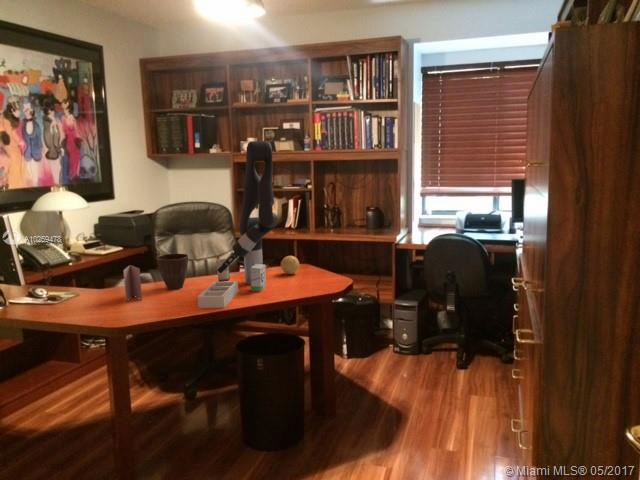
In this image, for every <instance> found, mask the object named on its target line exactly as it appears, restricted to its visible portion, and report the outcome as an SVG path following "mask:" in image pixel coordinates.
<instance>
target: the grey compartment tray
mask: <svg viewBox="0 0 640 480" xmlns="http://www.w3.org/2000/svg"><path fill="white" fill-rule="evenodd" d="M211 290H227V291H211ZM238 293H239V285H238V281H224V282H219V281H213V282H212V283H211V284H210V285H208V287H207V288H205V289H204V290H203V291H202V292H201V293H200V294H199V295H198V296H197V308H199V309H202V308H203V309H209V308H212V309H215V308H217V309H224V308H226V306H227V305H228V304H229V303H230V302H231V301H232V299H233V298H234V297H235V296H236V295H237V294H238Z"/></svg>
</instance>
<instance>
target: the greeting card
mask: <svg viewBox="0 0 640 480" xmlns="http://www.w3.org/2000/svg"><path fill="white" fill-rule="evenodd" d="M140 270H141V269H140V268H139V267H137V266H134V265H131V264H129V265H128V266H126V267H125V268H124V269H123V271H122V272H123V280H124V282H123V283H124V294H125V302H126V301H127V300H128V299H129V298H130V297H131V296H132V295H134V296H136V297H137V298H136V297H135V298H136V299H138V298H140V299H142V300H143V292H142V285H141V284H142V282H141V271H140ZM134 296H132V297H134ZM132 297H131V298H132ZM131 298H130V299H131ZM130 299H129V300H130ZM140 299H139V300H140ZM129 300H128V301H129ZM128 301H127V302H128Z"/></svg>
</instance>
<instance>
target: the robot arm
mask: <svg viewBox="0 0 640 480" xmlns="http://www.w3.org/2000/svg"><path fill="white" fill-rule="evenodd" d="M245 151H246V152H245V160H246V161H245V176H244V184H243V192H242V193H243V194H242V195H243V196H242V207H241V212H240V213H241V214H240V219H239V224H238V225H239V227H238V230H239V234H240V236H241V237H240V238H239V239H237V240H236V241H235V243H234V244H233V245H232V246H231V247H232V250H233V251H232V252H231V253H229V255H228V257H226V258H227V259H226V260H225V262H224V263H223V264H222V266H221V267H220V268H219V269H218V272H219V273H222V272H223V271H224V270H225V269H226V268H227V267H228V266H231V265H232V264H233V263H234V262H236V261H237V260H238V259H239V257H241V258H243V262H244V281H245V284H246V285H251V267H252V266H254V265H255V264H263V263H264V262H263V259H264V258H263V238H264V236H266V235H267V234H268V233H269V232H271V231H273V229H274V228H275V227H276V226H277V225H278V223H279V216H278V214H276V213H275V212H273V206H274V205H275V196H274V190H273V189H274V188H273V147H272V144H271V142H269V141H268V140H262V141H261V140H258V141H257V140H255V141H249V142H248V143H247V146H246V150H245ZM261 162H264V169H263V174H262V175H261V177H260V176H259V174H258V172H257V171H256V168H255V167H256V163H261ZM257 207H258V217H254V216H253V217H250V216H251V214H252V212H253V211H254V210H255V209H256V208H257ZM225 263H227V264H228V265H226V264H225Z"/></svg>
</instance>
